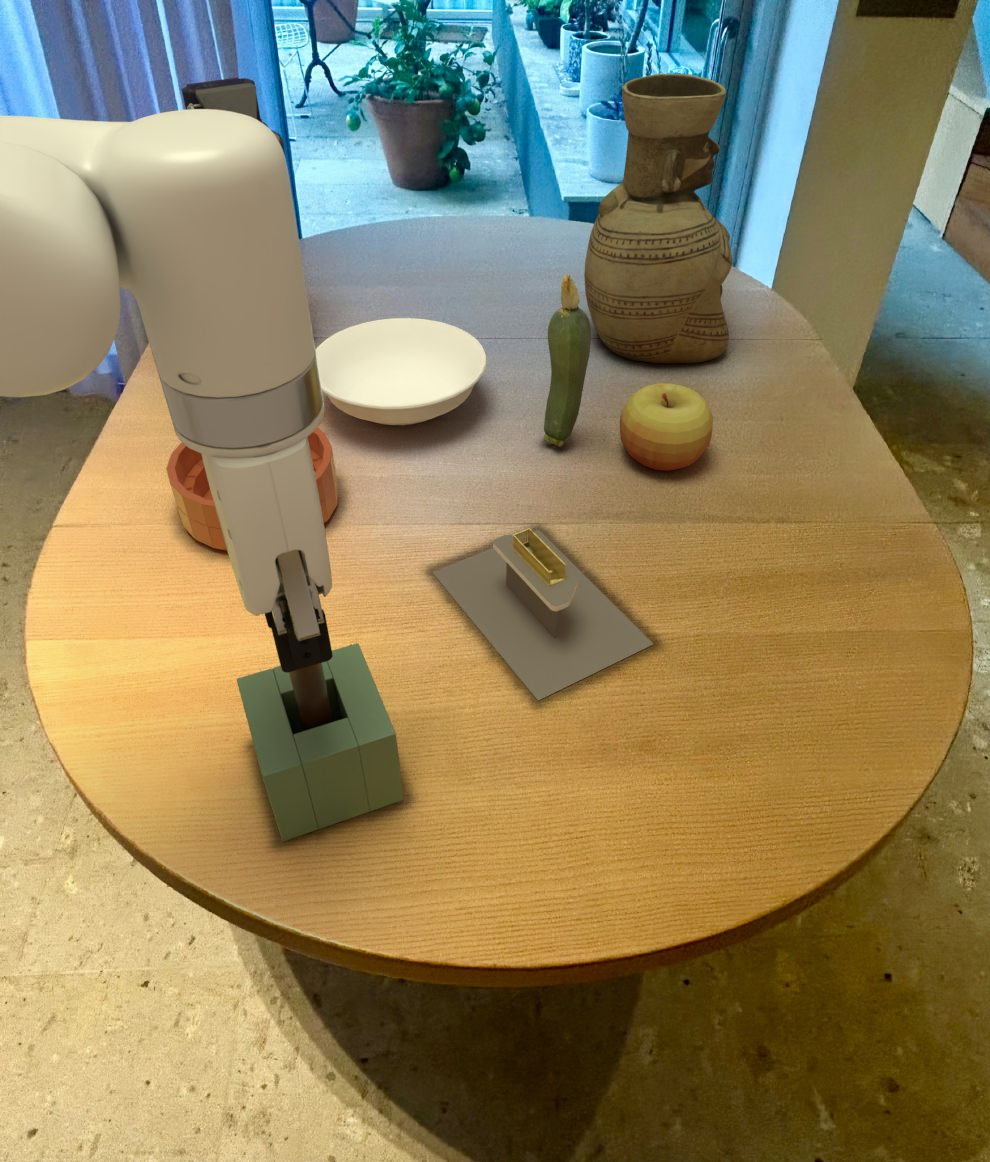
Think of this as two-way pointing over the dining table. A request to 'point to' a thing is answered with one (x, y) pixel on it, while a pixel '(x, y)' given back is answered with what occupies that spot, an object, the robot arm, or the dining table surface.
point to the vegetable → (566, 364)
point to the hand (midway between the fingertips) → (299, 639)
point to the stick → (310, 693)
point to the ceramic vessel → (662, 230)
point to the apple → (666, 426)
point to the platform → (540, 612)
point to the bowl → (399, 369)
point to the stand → (323, 746)
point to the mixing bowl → (198, 499)
